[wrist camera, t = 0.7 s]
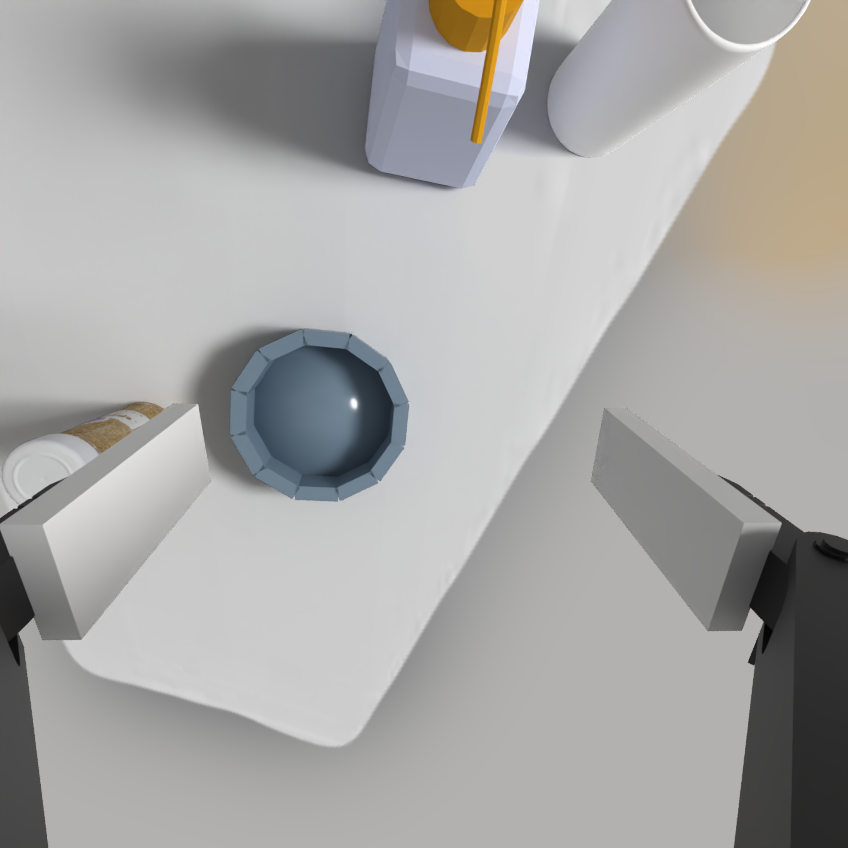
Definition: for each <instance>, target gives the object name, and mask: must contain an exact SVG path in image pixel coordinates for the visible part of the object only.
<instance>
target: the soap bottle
mask: <svg viewBox="0 0 848 848" xmlns="http://www.w3.org/2000/svg"><path fill="white" fill-rule="evenodd" d="M539 2H540V0H387V2H386V7H385V11H384V16H383V20H382V25H381V29H380V33H379V38H378V42H377V47H376V51H375V59H374V68H373V78H372V87H371V96H370V105H369V114H368V123H367V132H366V142H365V151H366V155H367V159H368V163H369V164H371V165H372V166H373V167H375V168H376V169H378V170H379V171H381V172H385V173H390V174H395V175H400V176H405V177H409V178H414V179H419V180H424V181H428V182H433V183H438V184H443V185H448V186H452V187H457V188H466V187H470V186H474V185H475V183H476V181H477V180H478V178H479V176H480V174H481V173H482V171H483V169H484V167H485V165H486V163H487V161H488V159H489V157H490V156H491V154H492V152H493V150H494V148H495V146H496V144H497V142H498V140H499V138H500V137H501V135H502V133H503V131H504V129H505V127H506V125H507V123H508V121H509V120H510V118H511V116H512V114H513V112H514V110H515V108H516V106H517V104H518V102H519V101H520V99H521V97H522V95H523V93H524V91H525V86H526V80H527V74H528V68H529V62H530V56H531V50H532V44H533V38H534V32H535V26H536V20H537V14H538V8H539Z"/></svg>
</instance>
